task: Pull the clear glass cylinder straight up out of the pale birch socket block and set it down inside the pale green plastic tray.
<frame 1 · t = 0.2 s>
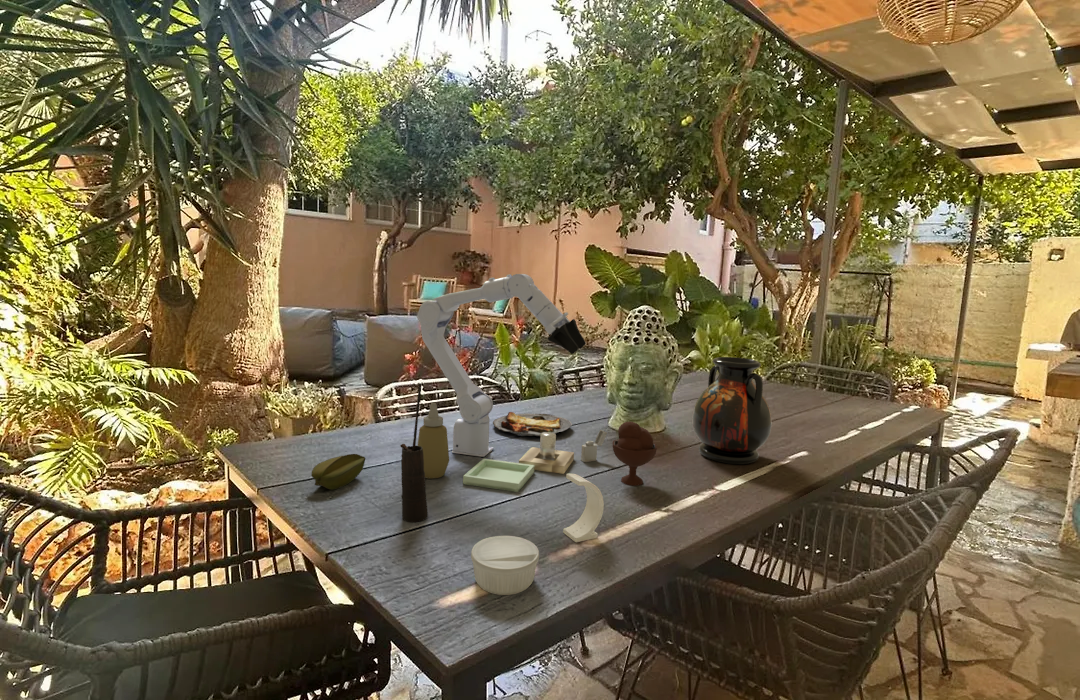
hand: (579, 348, 151), 31 cm above the table, tool tilted 45°, fingers open, 7 cm apart
ramekin: (504, 582, 96), on the table
ice cream bowl: (632, 482, 144), on the table
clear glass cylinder: (547, 448, 154), in the socket block
fruit: (339, 485, 134), on the table
food plate: (531, 430, 188), on the table
amphora vase: (727, 457, 168), on the table
squeeze bottle: (432, 475, 143), on the table
tray: (499, 478, 142), on the table
lighter: (593, 460, 160), on the table
socket block: (546, 463, 155), on the table
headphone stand: (582, 535, 114), on the table
butter churn: (409, 516, 119), on the table
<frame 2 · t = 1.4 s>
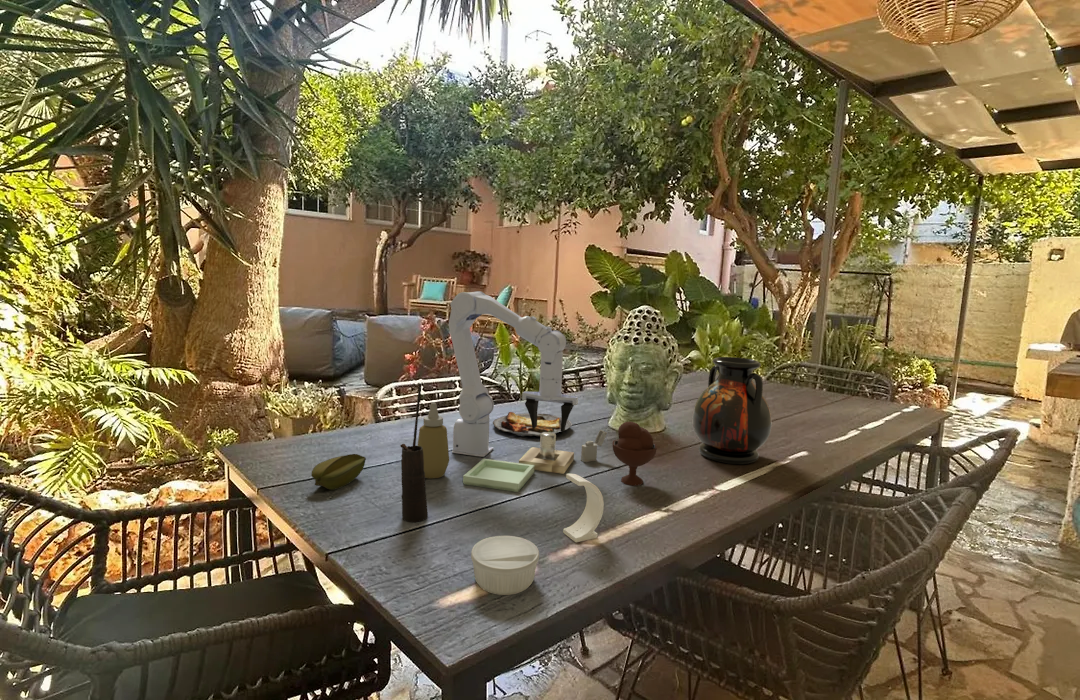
hand: (548, 428, 153), 9 cm above the table, tool pointing down, fingers open, 7 cm apart
nothing on the table moved.
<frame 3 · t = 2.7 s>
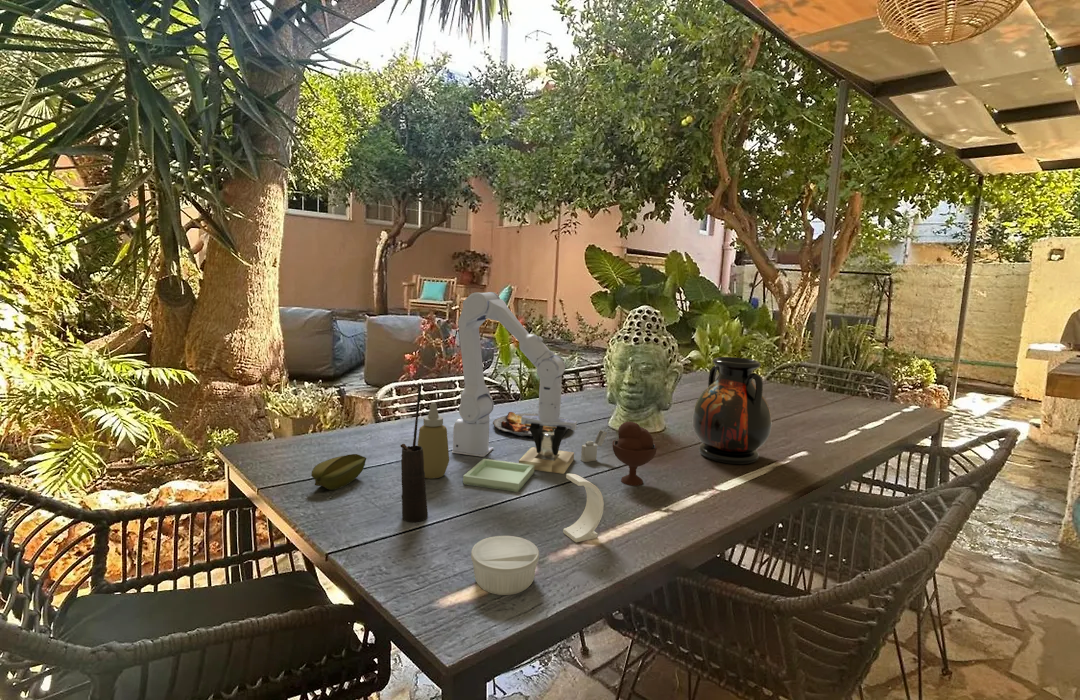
hand: (547, 452, 154), 3 cm above the table, tool pointing down, fingers closed on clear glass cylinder, 4 cm apart
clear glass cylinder: (547, 448, 154), in the socket block, touching gripper
everything else where it was.
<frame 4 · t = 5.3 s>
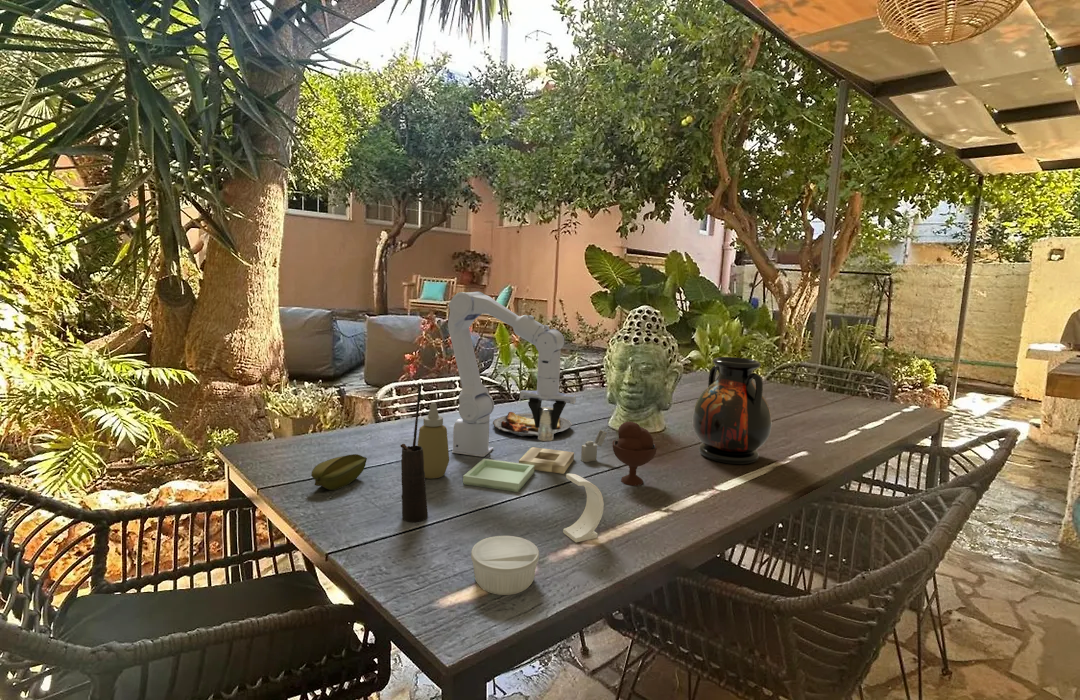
hand: (546, 427, 153), 10 cm above the table, tool pointing down, fingers closed on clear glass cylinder, 4 cm apart
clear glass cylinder: (546, 423, 153), point 11 cm above the table, touching gripper
everything else where it was.
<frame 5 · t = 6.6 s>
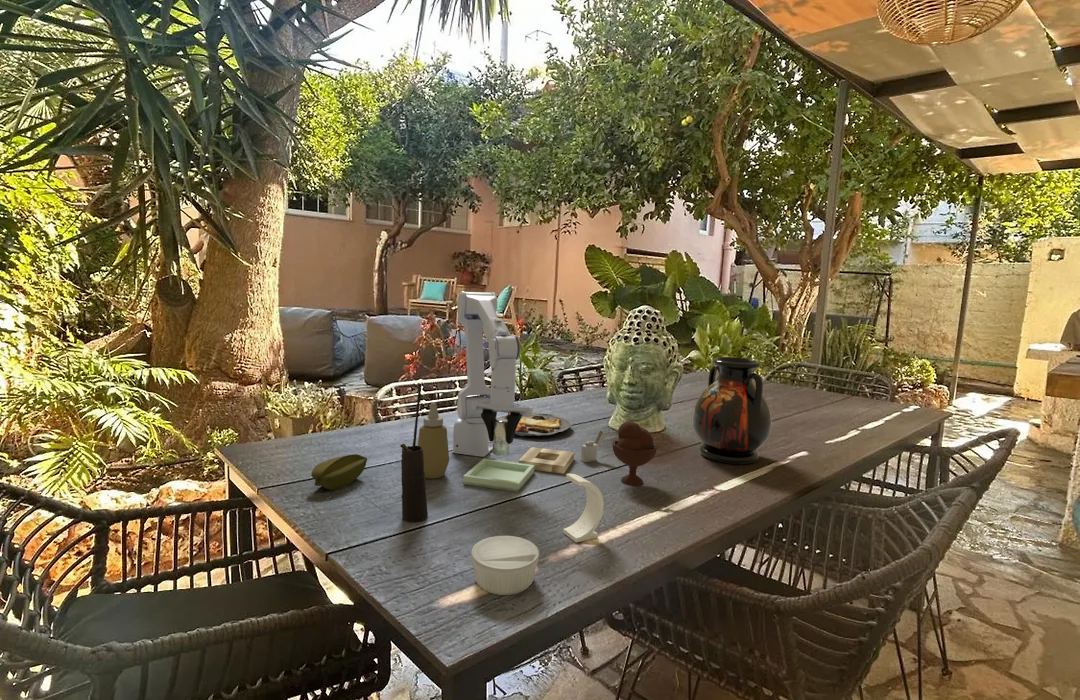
hand: (501, 441, 141), 9 cm above the table, tool pointing down, fingers closed on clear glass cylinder, 4 cm apart
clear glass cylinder: (501, 437, 141), point 10 cm above the table, touching gripper
everything else where it was.
when the fingers open (5 cm above the table, at t = 7.8 s): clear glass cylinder drops 1 cm, resting on tray.
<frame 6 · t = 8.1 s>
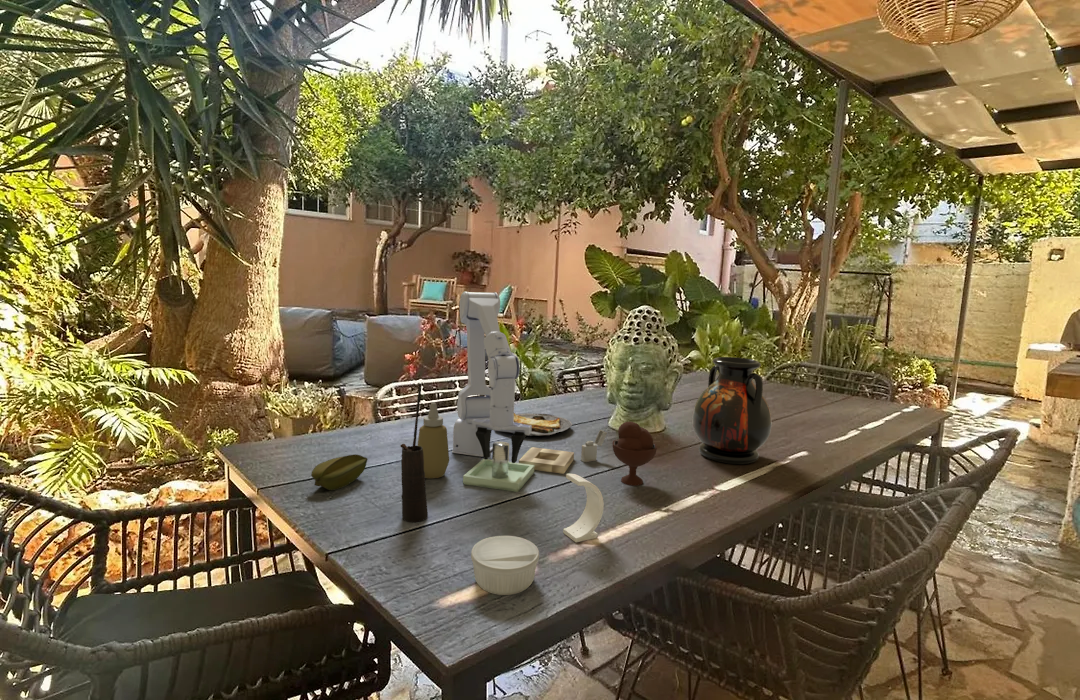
hand: (500, 460, 142), 5 cm above the table, tool pointing down, fingers open, 6 cm apart
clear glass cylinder: (500, 460, 142), in the tray, point 5 cm above the table
everything else where it was.
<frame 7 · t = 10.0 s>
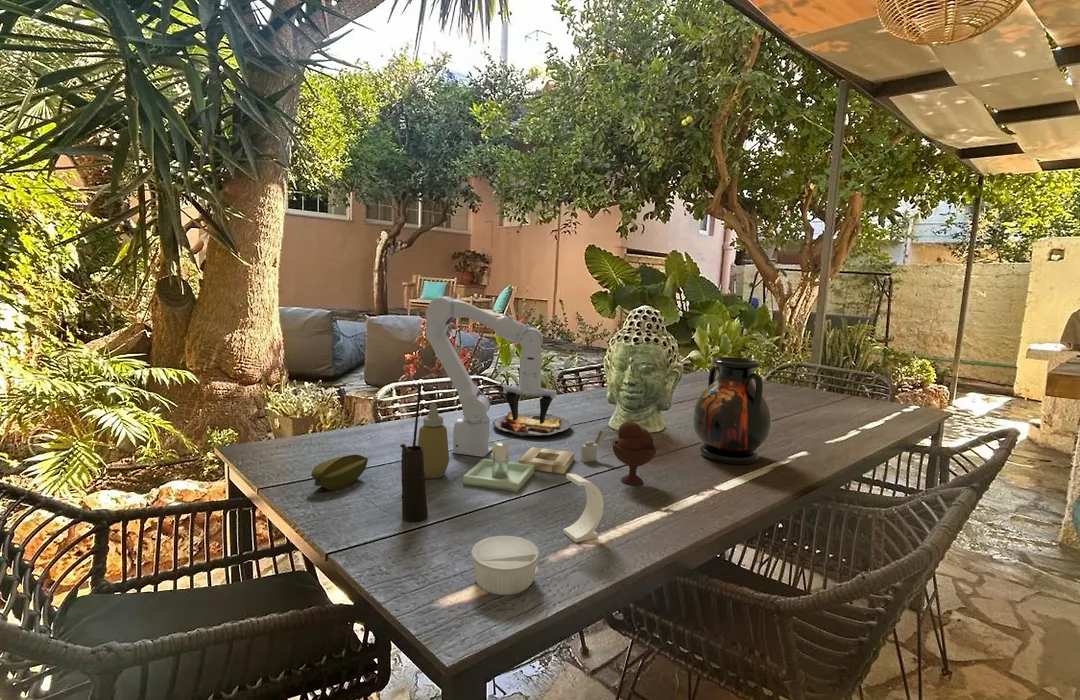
hand: (528, 421, 160), 9 cm above the table, tool pointing down, fingers open, 7 cm apart
nothing on the table moved.
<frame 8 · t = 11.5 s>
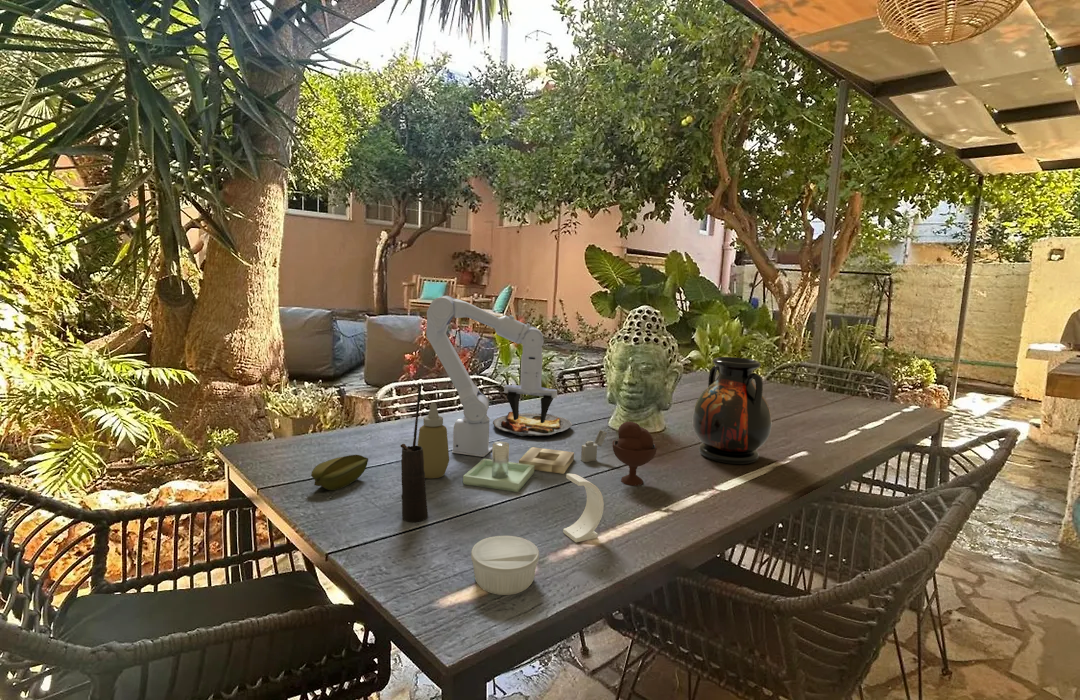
hand: (529, 420, 161), 9 cm above the table, tool pointing down, fingers open, 7 cm apart
nothing on the table moved.
at the end: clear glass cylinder inside the target area on the tray (0.1 cm from its centre), point 4.6 cm above the tray's base; the gripper is holding nothing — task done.
